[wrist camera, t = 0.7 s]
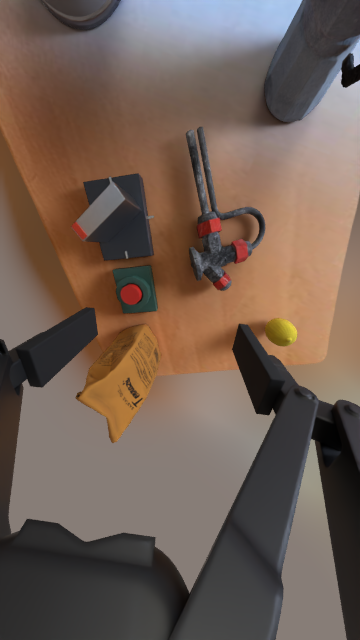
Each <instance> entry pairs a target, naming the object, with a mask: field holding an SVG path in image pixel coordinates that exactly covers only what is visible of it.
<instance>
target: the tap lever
mask: <svg viewBox="0 0 360 640" xmlns="http://www.w3.org/2000/svg"><path fill="white" fill-rule="evenodd" d="M140 212H141V209H140V208H139V206H138V205H137V203H136V202H135V200H134V199H133V197H131V196H130V195H129V194H128V193H126V192H125V191H124V190H123V189H122V188H120V187H119V186H118V185H117V184H115V183H114V182H112V183H111V184H110V185H109V186H108V187H107V188H106V189H105V190H104V191H103V192H102V193H101V195H100V196H99V197H98V198H97V199H96V200H95V201H94V202H93V203H92V204H91V205H90V206H89V208H88V209H87V210H86V211H85V212H84V213H83V214H82V215H81V216H80V217H79V218H78V219H77V221H76V222H75V223H74V224H73V225H72V226H71V227H72V229H73V230H74V231H75V232H76V233H77V235H78V236H79V237H80V238H81V239H82V240H83V241H85V242H106V243H108V242H109V241H110V240H111V239H112V238H113V237H114V236H115V235H116V234H117V233H118V232H119V231H120V230H122V229H123V228H124V227H125V226H126V225H127V224H128V223H129V222H130V221H131V220H132V219H133V218H134V217H135V216H136V215H137V214H139V213H140Z"/></svg>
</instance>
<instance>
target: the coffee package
mask: <svg viewBox="0 0 360 640" xmlns="http://www.w3.org/2000/svg"><path fill="white" fill-rule="evenodd" d="M160 358H161V353H160V351H159V349H158V342H157V340H156V337H155V336H154V335H153V333H152V332H151V330H150V328H149V327H148V326H147V325H146V324H142V325H138V326H132V327H129V328H128V329H126V330H124V331H122V332H120V333H119V335H118V336H117V338H116V339H115V340H114V341H113V343H112V344H111V346H110V347H108V348H107V349H106V351H105V352H104V353H103V354H102V355H101V356H100V357H99V359H98V360H97V361H96V362H95V363H94V364H93V365H92V366H91V367H90V368H89V372H88V375H87V379H86V385H85V387H84V390H83V391H82V392H79V393H77V396H76V399H77V400H78V401H80V402H81V403H83V404H85V405H86V406H88V407H90V408H92V409H94V410H95V411H97V412H98V413H100V414H101V415H103V416H105V417H106V419H107V423H108V430H109V438H110V439H111V442H112V443H114V442H117V440H118V439H119V438H120V436H121V435H122V433H123V432H124V430H125V429H126V428H127V427H128V425H129V424H130V423H131V420H132V419H133V417H134V416H135V414H136V413H137V412H138V410H139V409H140V407H141V405H142V404H143V402H144V401H145V399H146V397H147V395H148V393H149V391H150V388H151V386H152V384H153V381H154V379H155V377H156V375H157V370H158V365H159V362H160Z"/></svg>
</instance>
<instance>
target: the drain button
mask: <svg viewBox="0 0 360 640" xmlns="http://www.w3.org/2000/svg"><path fill="white" fill-rule="evenodd" d="M141 297H142V291H141V289H140V288H139V287H138V286H137V285H135V284H129V285H127V286H125V287H123V288H122V290H121V298H122V300H123V301H124V302H125V303H127V304H129V305H134V304H136V303H137V302H138V301H139V300H140V299H141Z"/></svg>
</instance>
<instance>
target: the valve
mask: <svg viewBox="0 0 360 640" xmlns="http://www.w3.org/2000/svg"><path fill="white" fill-rule="evenodd" d="M197 134H198V139H199V145H200V150H201V155H202V161H203V166H204V172H205V177H206V182H207V188H208V193H209V198H210V204H211V209H212V212H209V209H208V204H207V199H206V193H205V188H204V183H203V178H202V172H201V167H200V162H199V157H198V151H197V146H196V141H195V135H194V130H189V131H188V132H187V133H186V138H187V143H188V148H189V153H190V157H191V162H192V167H193V172H194V177H195V182H196V187H197V192H198V197H199V202H200V207H201V212H202V215H201V216H199V217H198V225H197V231H198V235H199V238H203V239H202V243H203V247H204V252H201V253H199V252H197V251H196V250H195V249H194V247H191V248H189V254H190V260H191V266H192V268H193V272H194V275H195V277H196V280H197V281H199V280H201V277H202V275H203V273H204V274H205V275H206V277H207V278H208V279H209V280H210V281H211V282H213V285H214V286H215V287H216V288H217V289H218V290H220V291H224V290H226V289H228V288H229V287H230V286H231V279H230V277H229V276H228V275H227V274H226V272H225V271H224V270H223V269H222V268H221V267H222V266H225V265H226V264H227V263H230V262H234V263H235V264H236V263H240V262H243V261H245V260H246V258H247V257H248V256H250V255H251V253H252V250H253V249H254V248H255V247H257V246H258V244H259V243H260V242H261V240H262V239H263V236H264V233H265V221H264V218H263V216H262V214H261V213H260V212H259V211H258V210H256V209H254V208H252V207H245V208H240V209H237V210H234V211H231V212H227V213H220V212H219V211H218V209H217V204H216V199H215V193H214V187H213V181H212V176H211V170H210V164H209V159H208V153H207V147H206V142H205V136H204V130H203V127H199V128H198V129H197ZM241 214H251V215H253V216H254V217H255V218H256V219H257V220H258V222H259V234H258V237H257V239H256V240H255V241H254V242H253V243H252V244H251V243H250V242H249V241H244V240H243V239H239V240H236V241H233V242H232V243H231V245H230V246H227V247H223V246H221V241H220V236H219V234H218V232H220V231H221V230H222V229H221V224H220V220H225V219H228V218H232V217H235V216H238V215H241Z"/></svg>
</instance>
